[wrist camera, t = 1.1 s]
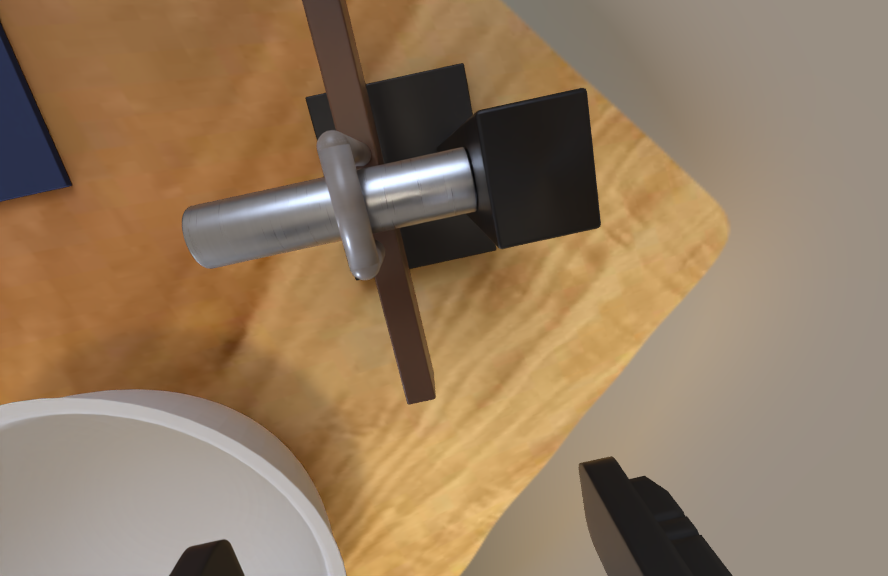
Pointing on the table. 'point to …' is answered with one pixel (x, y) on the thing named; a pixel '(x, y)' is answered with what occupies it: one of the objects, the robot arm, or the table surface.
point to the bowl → (152, 489)
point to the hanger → (340, 163)
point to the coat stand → (428, 178)
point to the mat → (24, 136)
